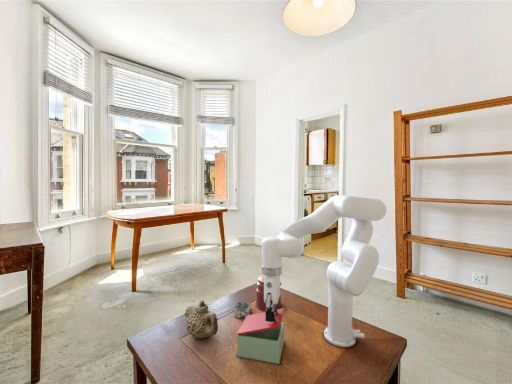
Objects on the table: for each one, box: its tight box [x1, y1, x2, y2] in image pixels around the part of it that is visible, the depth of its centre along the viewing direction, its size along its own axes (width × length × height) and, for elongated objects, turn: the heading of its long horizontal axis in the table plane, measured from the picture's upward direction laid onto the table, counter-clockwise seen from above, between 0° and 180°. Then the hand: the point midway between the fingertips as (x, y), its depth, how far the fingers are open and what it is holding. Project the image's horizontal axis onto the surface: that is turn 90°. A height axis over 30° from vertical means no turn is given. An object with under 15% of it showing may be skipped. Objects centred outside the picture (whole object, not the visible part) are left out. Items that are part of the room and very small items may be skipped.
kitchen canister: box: [255, 274, 282, 311], centre depth 128 cm, size 13×13×18 cm
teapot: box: [184, 299, 219, 340], centre depth 102 cm, size 21×12×15 cm, turn 47°
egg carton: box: [234, 300, 251, 319], centre depth 121 cm, size 11×8×4 cm
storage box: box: [237, 322, 285, 365], centre depth 95 cm, size 16×13×8 cm
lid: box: [237, 304, 285, 336], centre depth 95 cm, size 16×13×5 cm
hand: (271, 315), depth 93 cm, fingers open, 6 cm apart
